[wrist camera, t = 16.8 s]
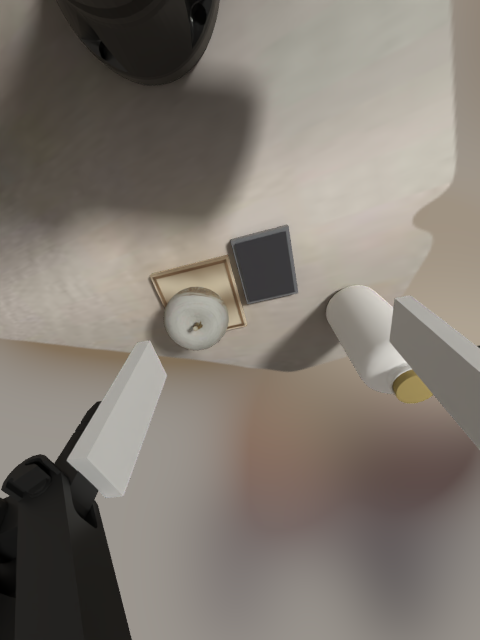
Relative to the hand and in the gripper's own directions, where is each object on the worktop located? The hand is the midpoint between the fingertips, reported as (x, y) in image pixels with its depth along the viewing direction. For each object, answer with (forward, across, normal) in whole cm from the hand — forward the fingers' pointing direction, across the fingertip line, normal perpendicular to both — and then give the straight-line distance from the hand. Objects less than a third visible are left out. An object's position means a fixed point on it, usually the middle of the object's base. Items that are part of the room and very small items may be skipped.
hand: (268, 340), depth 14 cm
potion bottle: (+25, +13, -14) cm, 32 cm away
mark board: (+25, -10, -8) cm, 28 cm away
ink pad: (+25, +1, -5) cm, 25 cm away
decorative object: (+24, -10, -8) cm, 27 cm away
